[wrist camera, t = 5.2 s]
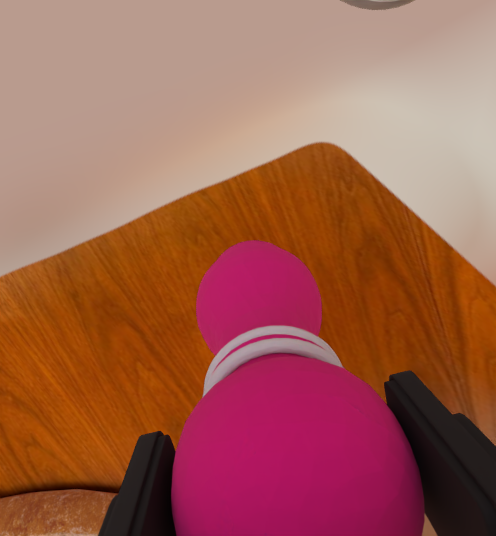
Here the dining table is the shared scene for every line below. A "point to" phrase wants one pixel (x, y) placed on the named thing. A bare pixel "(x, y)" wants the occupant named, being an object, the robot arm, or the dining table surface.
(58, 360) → the dining table surface
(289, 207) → the dining table surface
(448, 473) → the robot arm
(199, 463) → the pepper mill
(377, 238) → the dining table surface
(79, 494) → the bread
